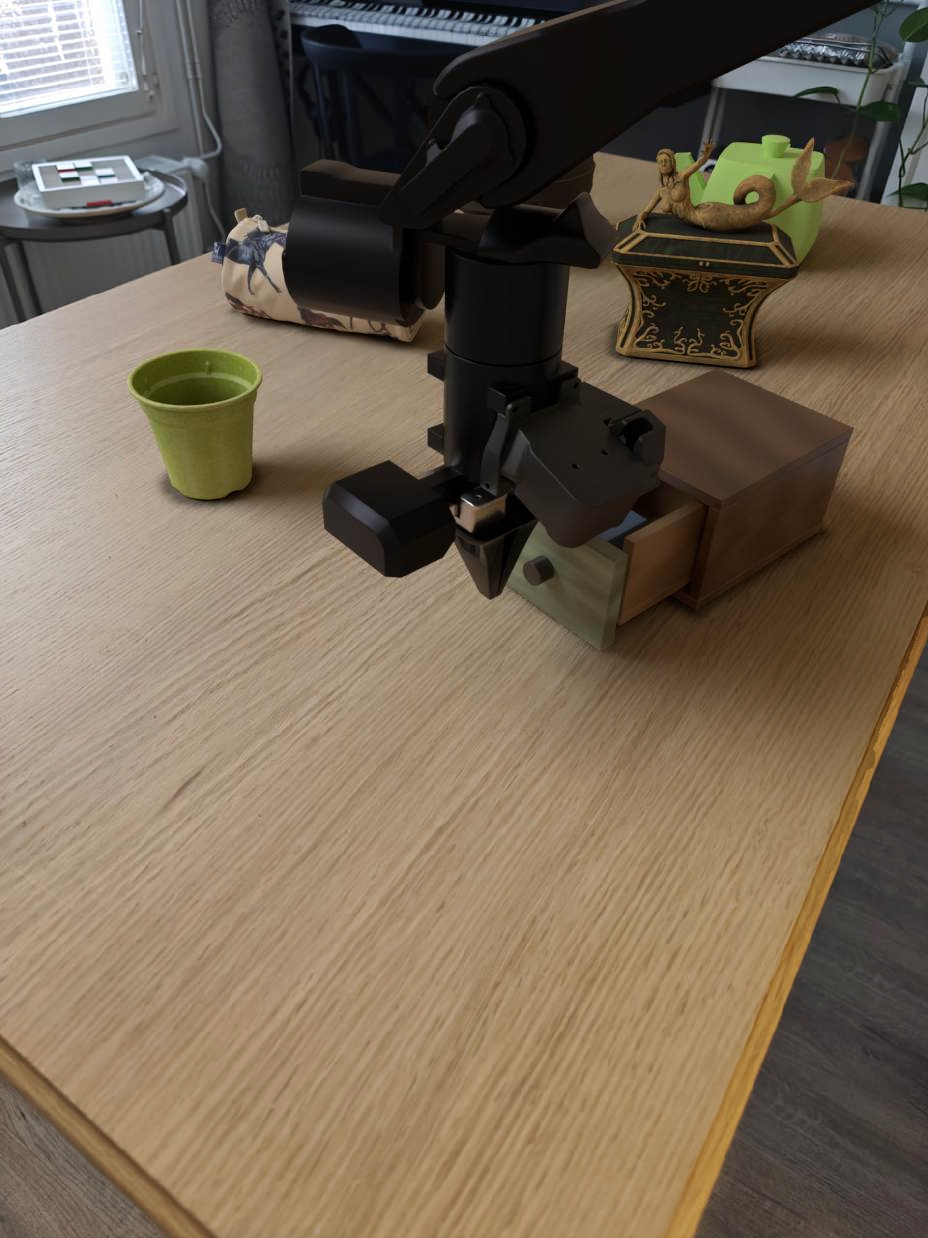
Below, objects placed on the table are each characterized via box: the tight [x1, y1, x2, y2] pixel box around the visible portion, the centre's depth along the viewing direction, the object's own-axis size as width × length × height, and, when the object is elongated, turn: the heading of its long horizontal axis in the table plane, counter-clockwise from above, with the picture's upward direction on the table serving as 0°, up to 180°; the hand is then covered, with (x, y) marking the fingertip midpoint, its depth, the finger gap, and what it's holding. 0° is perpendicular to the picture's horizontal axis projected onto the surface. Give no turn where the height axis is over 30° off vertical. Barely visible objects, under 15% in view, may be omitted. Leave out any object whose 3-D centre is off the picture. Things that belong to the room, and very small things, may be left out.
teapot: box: [674, 134, 826, 264], centre depth 111 cm, size 18×20×13 cm
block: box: [598, 510, 647, 551], centre depth 60 cm, size 4×4×4 cm
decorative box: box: [609, 137, 854, 369], centre depth 86 cm, size 20×10×20 cm, turn 80°
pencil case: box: [210, 207, 427, 343], centre depth 92 cm, size 22×8×10 cm, turn 70°
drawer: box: [506, 480, 710, 652], centre depth 60 cm, size 15×10×7 cm
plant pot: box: [126, 347, 263, 500], centre depth 69 cm, size 9×9×9 cm
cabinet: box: [632, 367, 855, 611], centre depth 65 cm, size 15×12×9 cm
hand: (489, 594), depth 55 cm, fingers closed
